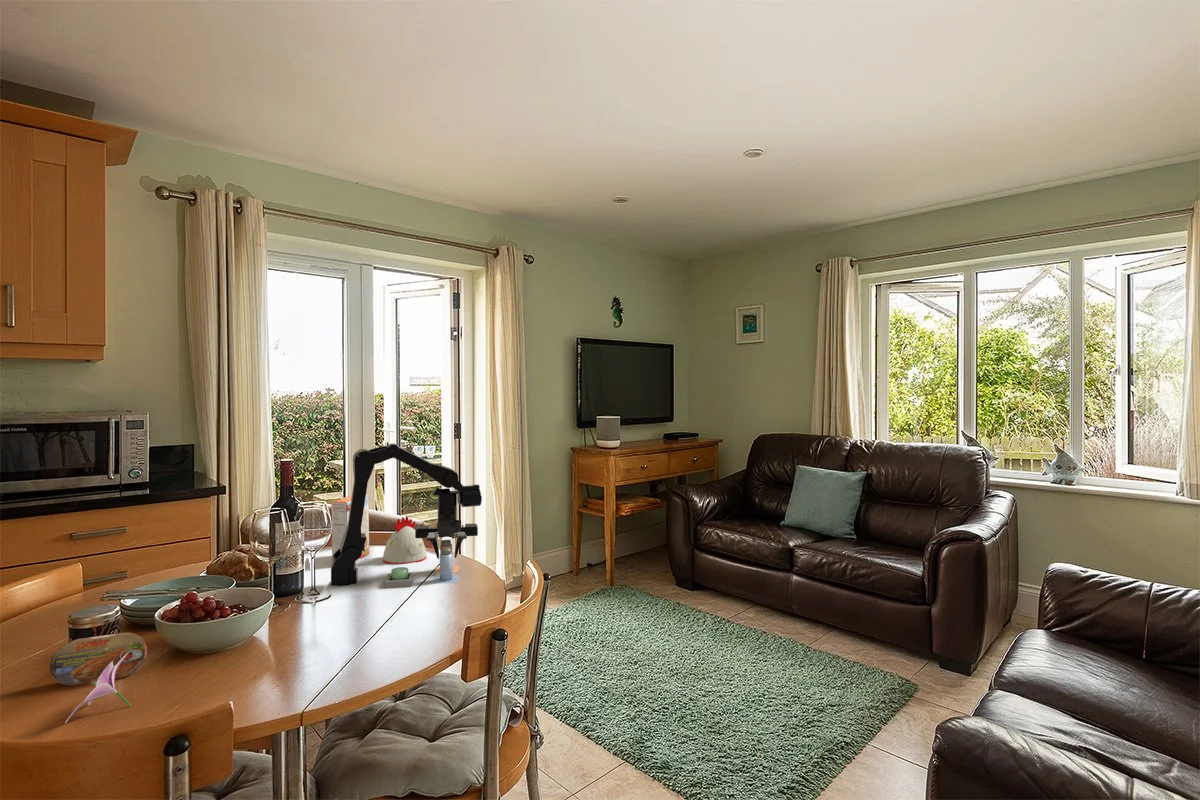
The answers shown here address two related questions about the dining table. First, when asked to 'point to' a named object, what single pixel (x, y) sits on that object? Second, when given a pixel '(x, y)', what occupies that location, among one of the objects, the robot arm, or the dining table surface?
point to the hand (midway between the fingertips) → (446, 558)
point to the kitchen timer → (404, 545)
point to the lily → (103, 685)
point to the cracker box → (341, 521)
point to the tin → (97, 658)
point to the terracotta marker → (446, 546)
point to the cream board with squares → (409, 581)
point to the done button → (399, 573)
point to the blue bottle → (445, 564)
